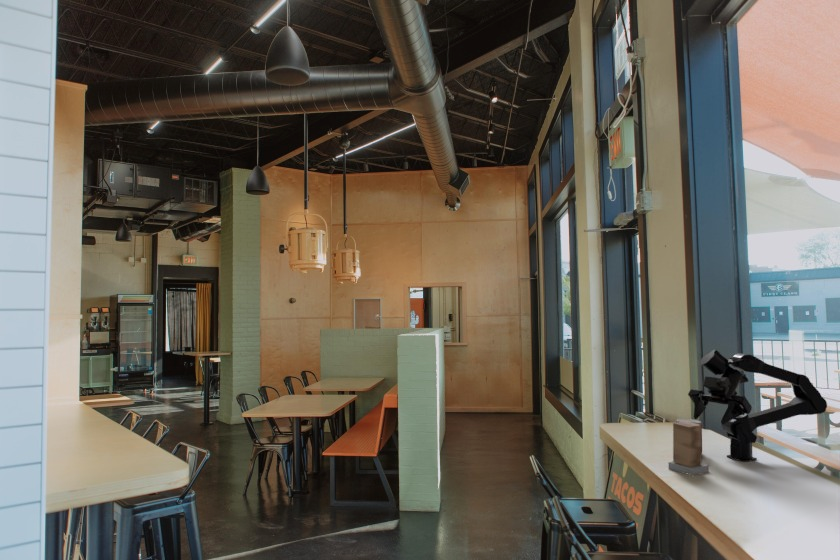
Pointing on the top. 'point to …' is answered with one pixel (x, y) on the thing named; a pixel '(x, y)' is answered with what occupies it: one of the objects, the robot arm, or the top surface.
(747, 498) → the top surface
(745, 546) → the top surface
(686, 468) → the slate tile
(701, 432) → the canned food
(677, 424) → the walnut block
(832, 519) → the top surface
